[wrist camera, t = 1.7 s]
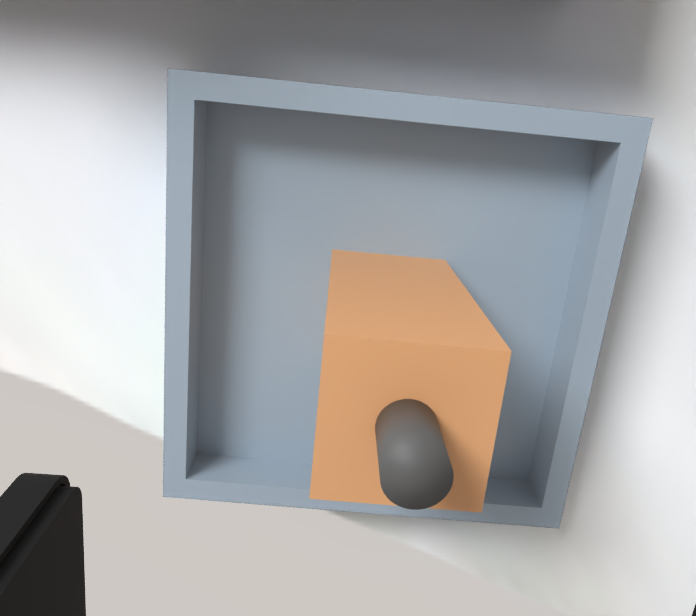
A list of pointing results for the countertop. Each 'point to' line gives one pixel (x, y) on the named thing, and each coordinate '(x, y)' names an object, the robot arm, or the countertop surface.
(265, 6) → the countertop surface
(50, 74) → the countertop surface
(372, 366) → the plug
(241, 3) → the countertop surface
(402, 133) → the tray
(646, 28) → the countertop surface
